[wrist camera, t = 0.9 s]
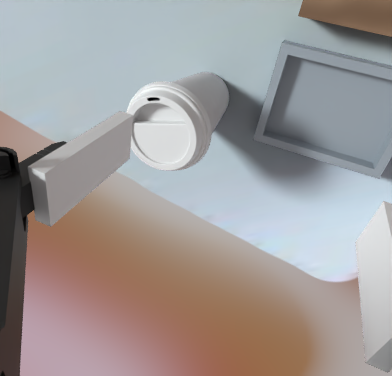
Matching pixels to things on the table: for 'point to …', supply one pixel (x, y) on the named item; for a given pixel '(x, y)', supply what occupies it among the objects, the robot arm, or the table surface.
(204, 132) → the coffee cup
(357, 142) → the tray
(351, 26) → the socket block
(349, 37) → the table surface
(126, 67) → the table surface
